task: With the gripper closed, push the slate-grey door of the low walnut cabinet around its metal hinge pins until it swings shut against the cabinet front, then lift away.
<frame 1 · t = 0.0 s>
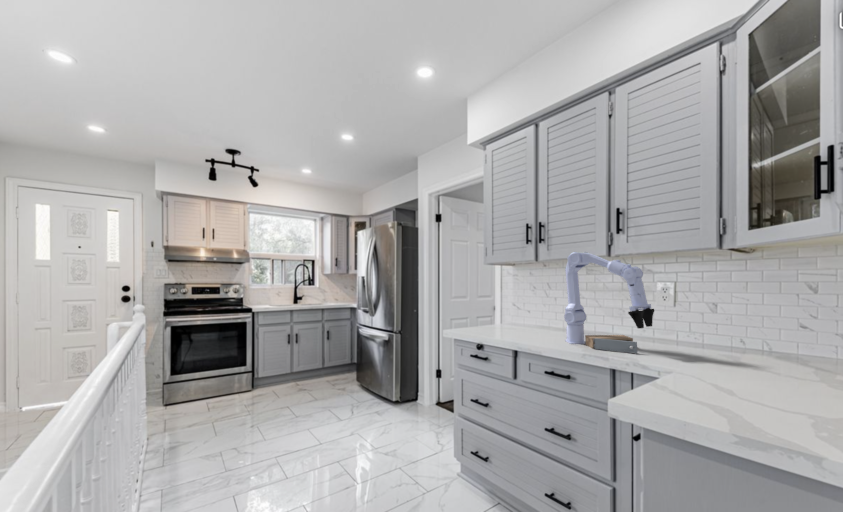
hand: (645, 327, 152), 10 cm above the counter, fingers open, 7 cm apart
door: (614, 345, 155), point 2 cm above the counter, hinge at 35.0°
cabinet: (608, 346, 165), on the counter
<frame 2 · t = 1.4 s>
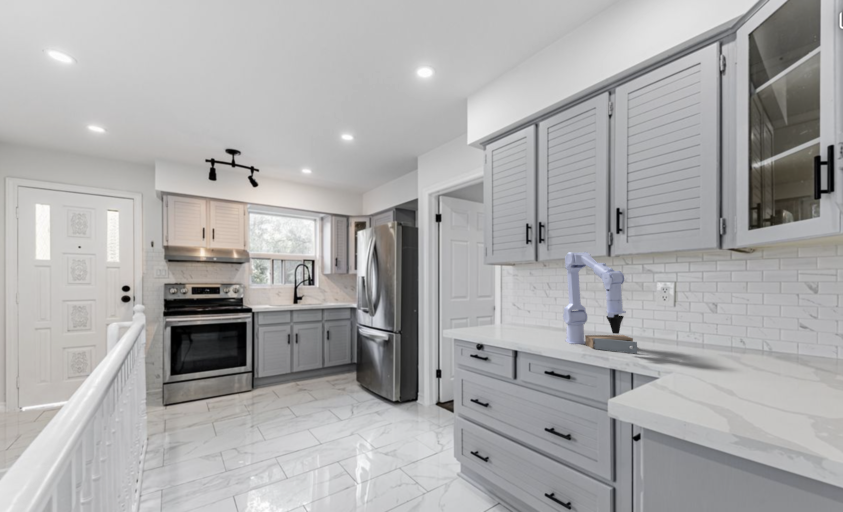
hand: (615, 333, 150), 8 cm above the counter, fingers closed
nothing on the counter moved.
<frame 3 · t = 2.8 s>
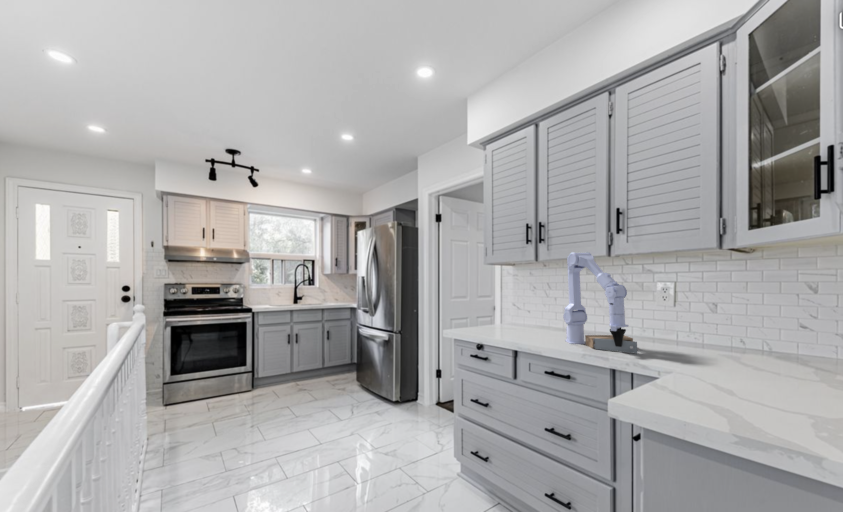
hand: (618, 346, 153), 2 cm above the counter, fingers closed, pressing on door
door: (614, 345, 155), point 2 cm above the counter, hinge at 34.4°, touching gripper
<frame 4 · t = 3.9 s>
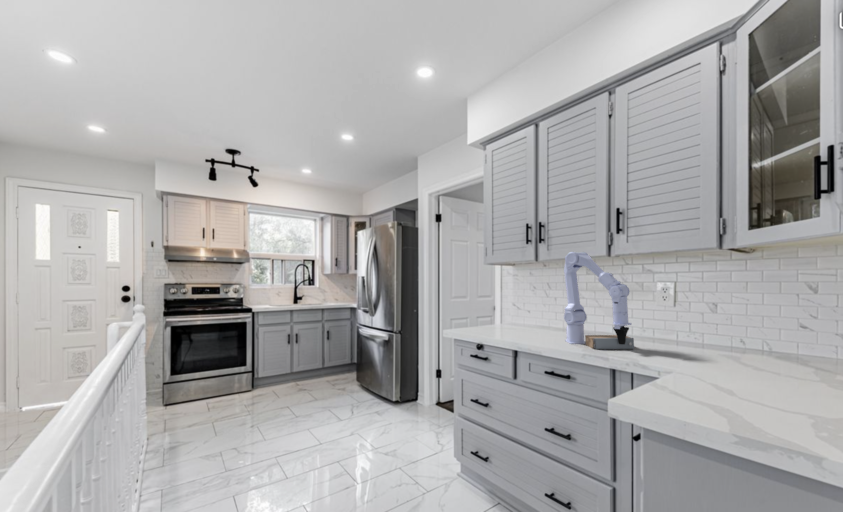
hand: (622, 344, 157), 2 cm above the counter, fingers closed, pressing on door
door: (613, 343, 159), point 2 cm above the counter, hinge at -0.5°, touching gripper
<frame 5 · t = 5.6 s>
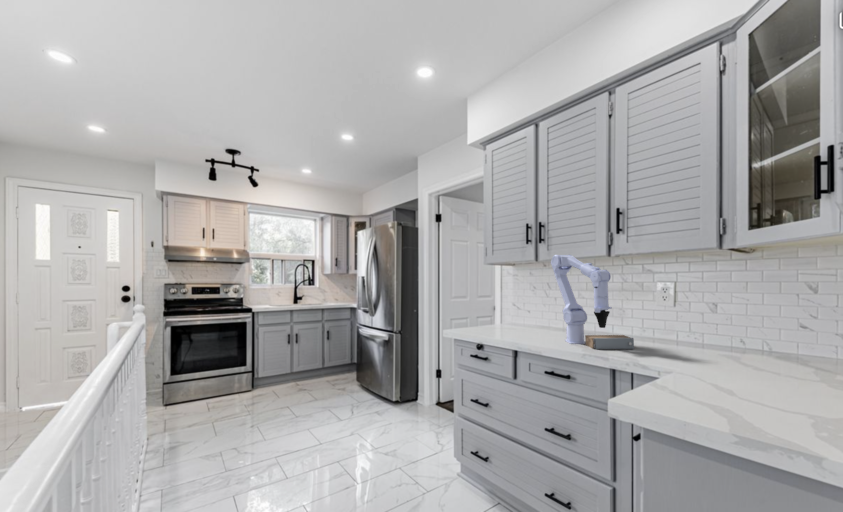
hand: (602, 327, 162), 9 cm above the counter, fingers closed
door: (613, 343, 159), point 2 cm above the counter, hinge at -0.6°
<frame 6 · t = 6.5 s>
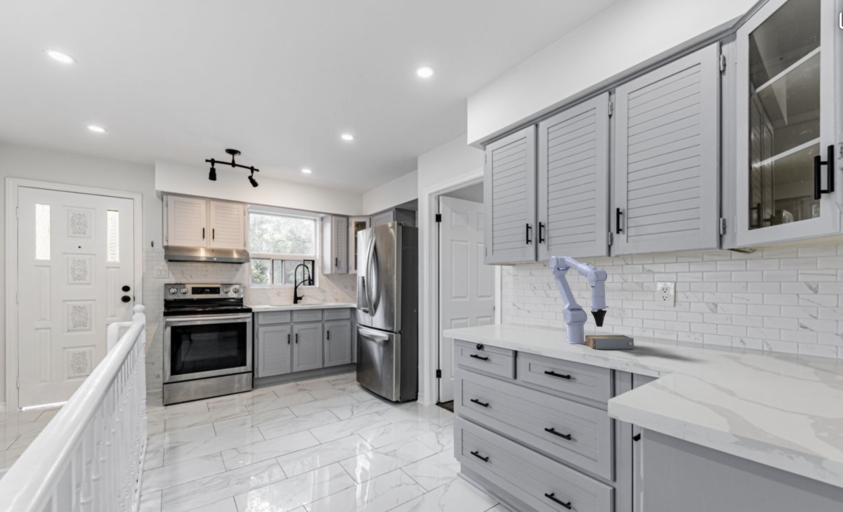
hand: (599, 326, 163), 9 cm above the counter, fingers closed
nothing on the counter moved.
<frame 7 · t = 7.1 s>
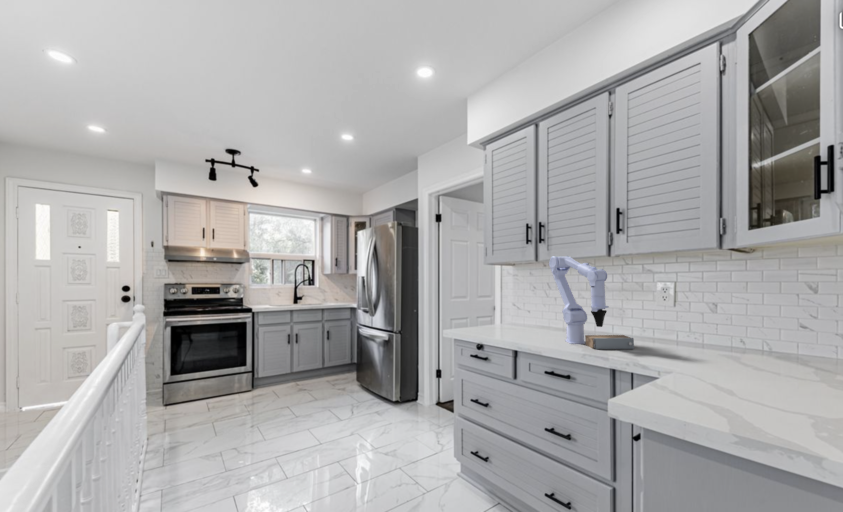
hand: (599, 326, 163), 9 cm above the counter, fingers closed
nothing on the counter moved.
at the end: door at -1° (first picture: +35°) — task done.
